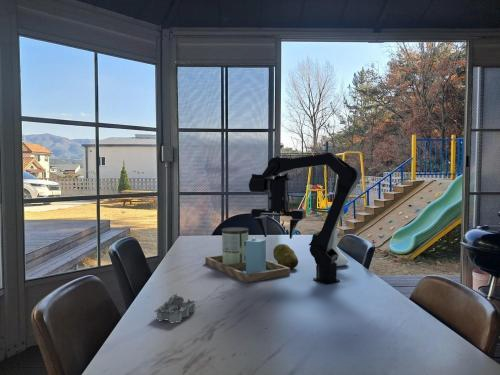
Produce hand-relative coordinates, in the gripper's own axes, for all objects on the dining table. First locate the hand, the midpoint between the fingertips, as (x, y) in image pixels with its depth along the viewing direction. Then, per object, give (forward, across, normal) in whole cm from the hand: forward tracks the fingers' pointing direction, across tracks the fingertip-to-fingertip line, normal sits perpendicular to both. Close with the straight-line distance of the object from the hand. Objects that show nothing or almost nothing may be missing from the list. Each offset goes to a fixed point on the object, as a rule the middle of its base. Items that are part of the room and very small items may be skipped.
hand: (278, 237), depth 137 cm
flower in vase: (+13, -16, -22) cm, 30 cm away
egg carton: (+14, +12, +46) cm, 50 cm away
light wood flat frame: (+13, +14, -3) cm, 19 cm away
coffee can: (+13, +20, -7) cm, 25 cm away
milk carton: (+13, +8, +2) cm, 15 cm away
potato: (+13, +1, -12) cm, 18 cm away
